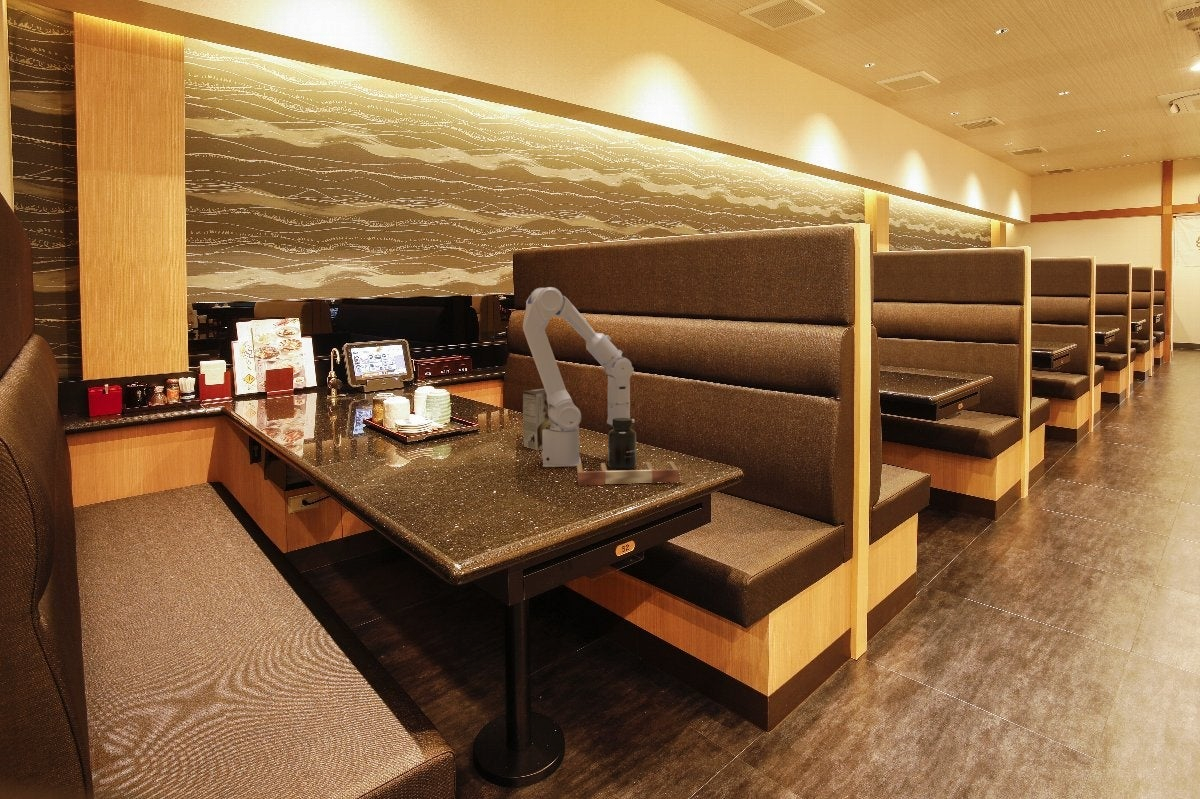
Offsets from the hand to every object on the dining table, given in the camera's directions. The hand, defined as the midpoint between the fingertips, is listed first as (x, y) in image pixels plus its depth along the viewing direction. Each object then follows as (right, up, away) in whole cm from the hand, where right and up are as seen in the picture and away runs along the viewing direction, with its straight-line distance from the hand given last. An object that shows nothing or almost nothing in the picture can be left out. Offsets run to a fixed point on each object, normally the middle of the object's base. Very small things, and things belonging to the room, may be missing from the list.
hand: (619, 455), depth 179 cm
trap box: (+1, -4, -20) cm, 20 cm away
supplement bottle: (+1, -3, -8) cm, 9 cm away
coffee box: (-21, +1, +15) cm, 26 cm away
